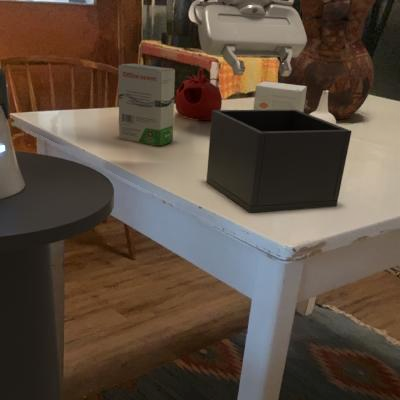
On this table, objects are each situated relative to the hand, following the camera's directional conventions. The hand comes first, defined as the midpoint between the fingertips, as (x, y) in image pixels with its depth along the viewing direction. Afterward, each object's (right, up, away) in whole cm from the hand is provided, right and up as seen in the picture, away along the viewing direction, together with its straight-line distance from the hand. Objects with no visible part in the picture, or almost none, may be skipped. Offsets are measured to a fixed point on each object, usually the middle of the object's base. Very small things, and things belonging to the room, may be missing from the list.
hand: (263, 73), depth 107 cm
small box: (+2, -13, +1) cm, 13 cm away
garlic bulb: (+13, -4, +16) cm, 21 cm away
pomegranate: (-12, +1, +20) cm, 24 cm away
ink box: (-21, -12, 0) cm, 24 cm away
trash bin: (-1, -27, -21) cm, 35 cm away
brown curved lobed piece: (+16, +7, +34) cm, 38 cm away
